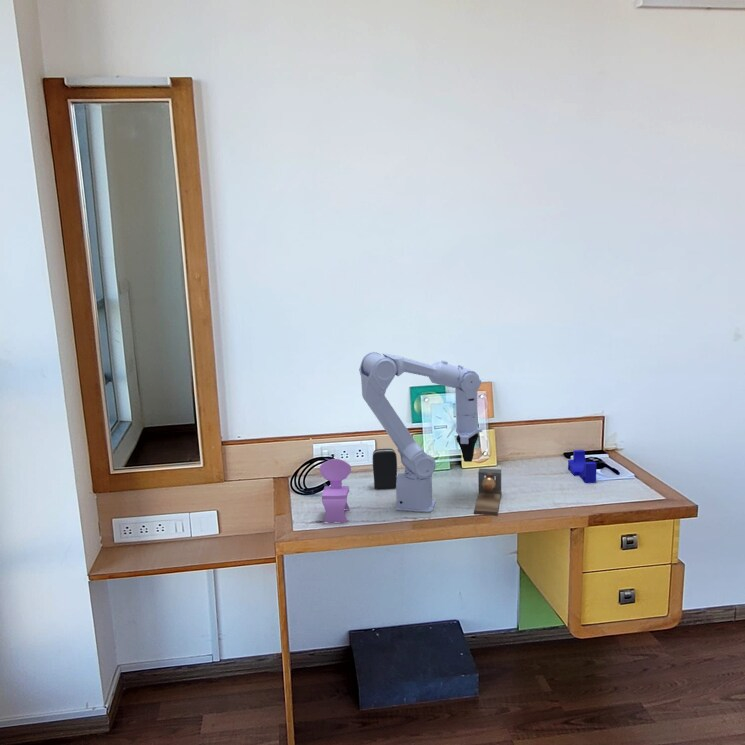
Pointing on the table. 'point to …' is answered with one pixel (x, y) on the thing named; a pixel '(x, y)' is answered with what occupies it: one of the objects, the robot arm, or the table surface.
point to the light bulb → (489, 483)
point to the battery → (384, 468)
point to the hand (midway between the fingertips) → (468, 460)
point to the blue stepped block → (582, 467)
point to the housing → (490, 472)
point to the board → (487, 504)
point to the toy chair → (335, 489)
